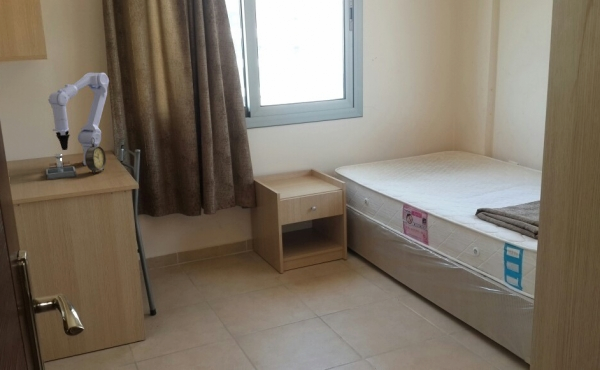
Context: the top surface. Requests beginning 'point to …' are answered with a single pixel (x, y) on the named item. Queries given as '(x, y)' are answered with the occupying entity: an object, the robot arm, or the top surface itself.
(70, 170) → the tray
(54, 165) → the block
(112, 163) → the top surface
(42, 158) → the top surface
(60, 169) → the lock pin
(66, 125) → the robot arm
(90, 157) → the alarm clock
